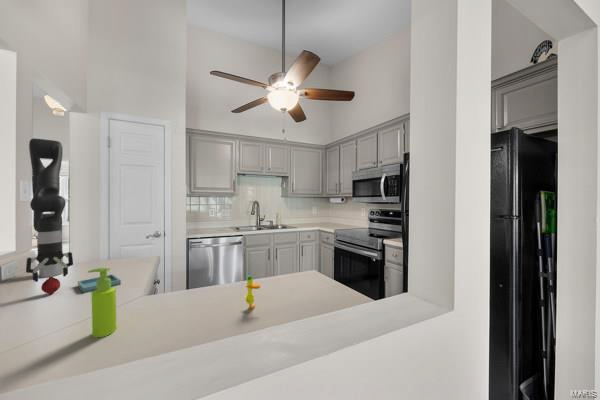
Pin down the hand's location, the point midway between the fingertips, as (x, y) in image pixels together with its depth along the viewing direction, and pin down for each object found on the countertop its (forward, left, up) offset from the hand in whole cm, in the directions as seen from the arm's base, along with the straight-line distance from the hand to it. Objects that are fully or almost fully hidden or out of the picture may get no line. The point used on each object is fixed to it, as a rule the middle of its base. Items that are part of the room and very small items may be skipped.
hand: (50, 278), depth 107 cm
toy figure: (+79, +47, -7) cm, 92 cm away
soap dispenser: (+56, +7, -7) cm, 57 cm away
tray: (+3, +16, -7) cm, 18 cm away
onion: (0, 0, -7) cm, 7 cm away
